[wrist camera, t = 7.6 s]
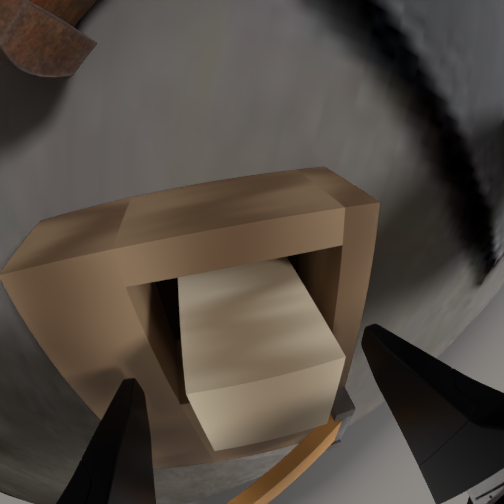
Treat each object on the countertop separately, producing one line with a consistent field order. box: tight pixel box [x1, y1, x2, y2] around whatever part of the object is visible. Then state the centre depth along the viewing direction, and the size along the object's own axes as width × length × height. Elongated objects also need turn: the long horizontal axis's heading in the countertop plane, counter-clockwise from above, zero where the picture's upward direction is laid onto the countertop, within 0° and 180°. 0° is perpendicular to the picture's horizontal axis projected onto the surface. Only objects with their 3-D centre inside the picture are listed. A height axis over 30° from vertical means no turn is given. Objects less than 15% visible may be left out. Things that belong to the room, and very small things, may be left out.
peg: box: [178, 257, 346, 451], centre depth 11 cm, size 4×4×7 cm
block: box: [0, 167, 380, 469], centre depth 13 cm, size 12×16×5 cm
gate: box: [227, 413, 351, 504], centre depth 12 cm, size 11×3×1 cm, turn 96°
